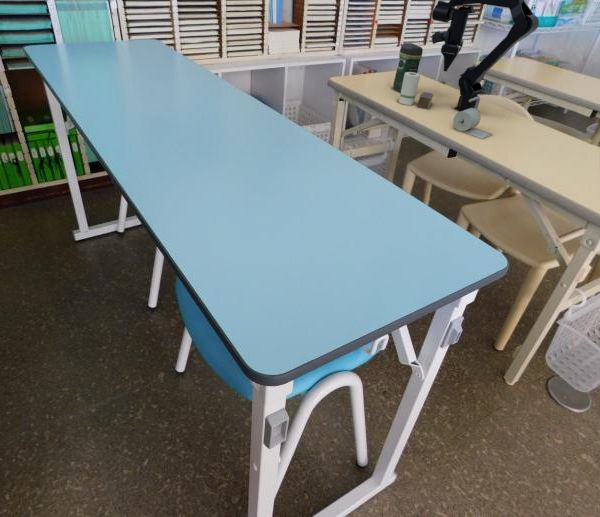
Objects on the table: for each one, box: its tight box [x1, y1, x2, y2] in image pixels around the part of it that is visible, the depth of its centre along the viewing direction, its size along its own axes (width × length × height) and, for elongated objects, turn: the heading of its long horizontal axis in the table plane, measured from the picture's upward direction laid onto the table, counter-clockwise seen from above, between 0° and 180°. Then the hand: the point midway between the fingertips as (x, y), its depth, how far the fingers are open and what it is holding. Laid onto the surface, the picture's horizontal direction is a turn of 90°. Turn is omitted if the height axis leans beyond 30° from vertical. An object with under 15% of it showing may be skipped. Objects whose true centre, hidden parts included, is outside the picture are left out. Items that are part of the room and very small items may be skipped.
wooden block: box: [417, 91, 434, 110], centre depth 178 cm, size 4×8×4 cm, turn 157°
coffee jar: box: [392, 42, 424, 93], centre depth 189 cm, size 10×8×19 cm
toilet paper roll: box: [452, 95, 491, 139], centre depth 155 cm, size 10×11×12 cm
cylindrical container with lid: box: [398, 72, 421, 106], centre depth 177 cm, size 12×6×12 cm
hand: (446, 68), depth 177 cm, fingers open, 9 cm apart
